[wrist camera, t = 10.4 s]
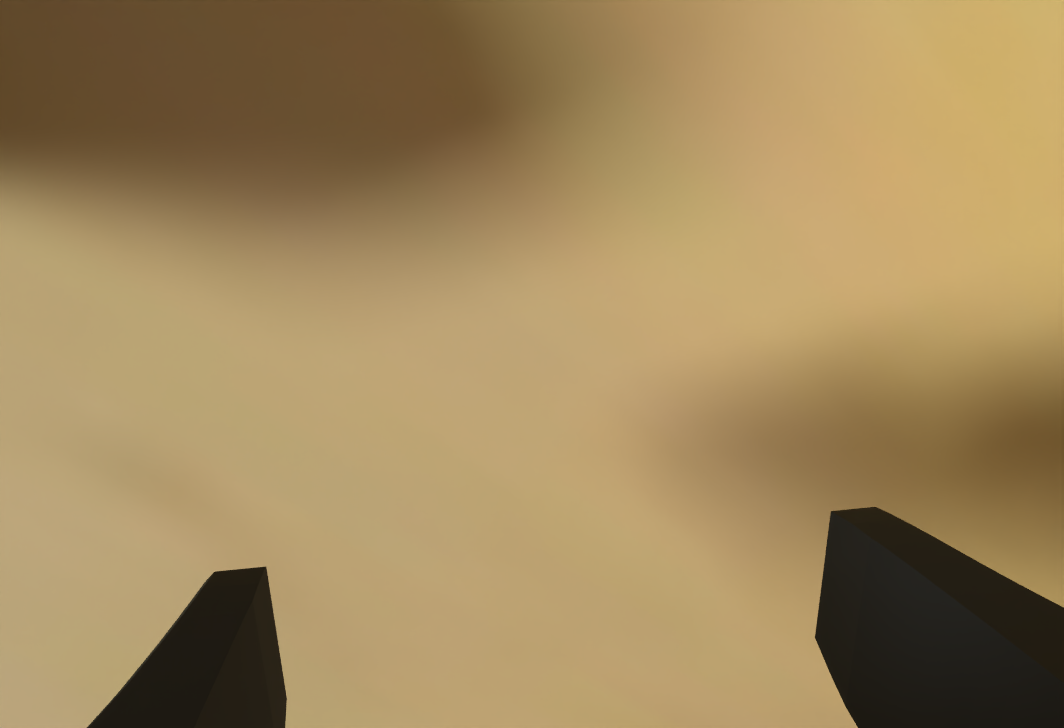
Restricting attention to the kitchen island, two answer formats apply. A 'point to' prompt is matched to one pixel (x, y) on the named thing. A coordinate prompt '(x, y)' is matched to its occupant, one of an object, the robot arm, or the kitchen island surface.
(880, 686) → the robot arm
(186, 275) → the kitchen island surface
